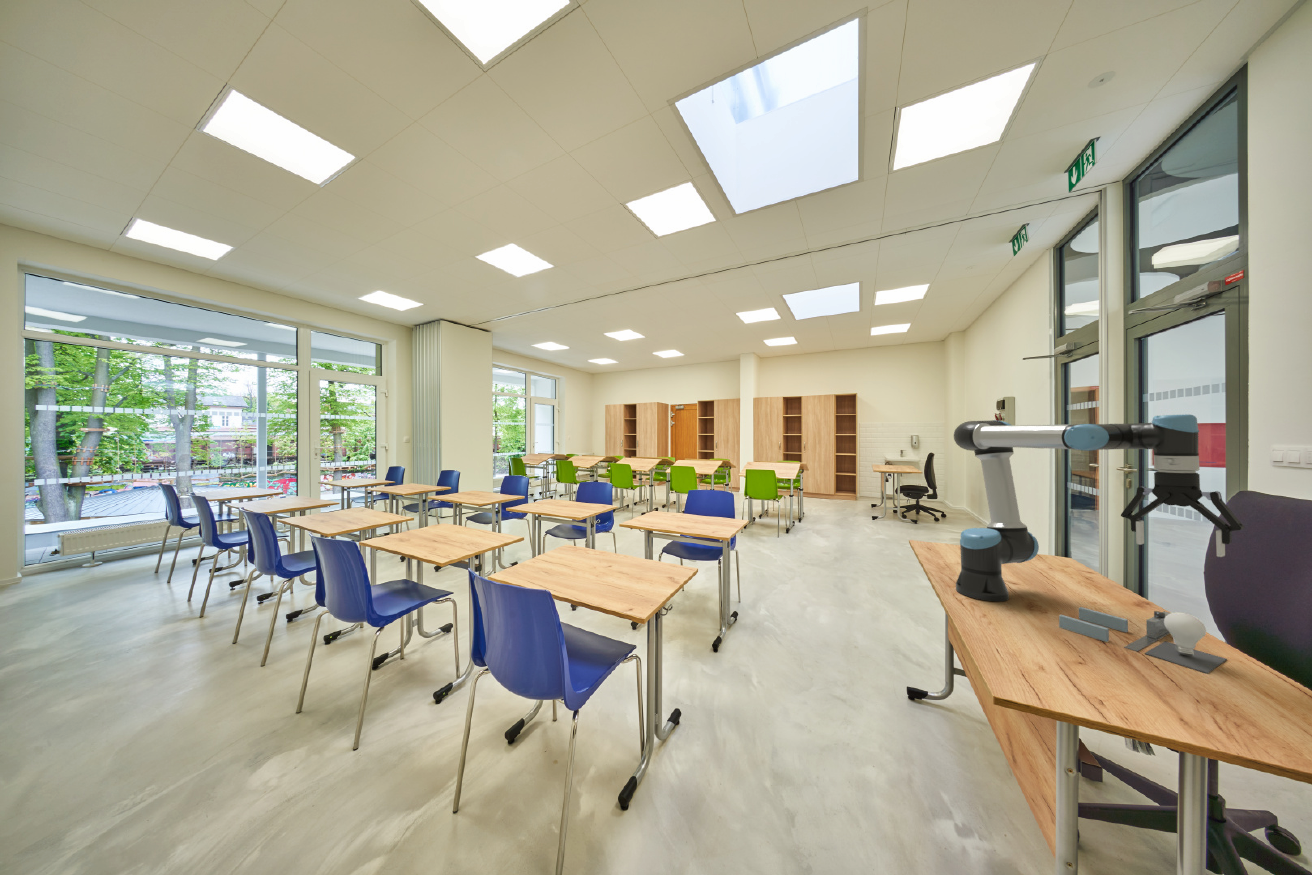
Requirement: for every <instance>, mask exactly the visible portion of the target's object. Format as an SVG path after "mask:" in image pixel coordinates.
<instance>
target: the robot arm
mask: <svg viewBox="0 0 1312 875" xmlns="http://www.w3.org/2000/svg"><path fill="white" fill-rule="evenodd" d="M1198 425H1199V424H1198V419H1197V416H1196V415H1193V414H1189V413H1188V414H1186V413H1185V414H1166V415H1165V414H1163V415H1155V416H1153V417H1152V421H1151V422H1145V423H1144V422H1143V423H1141V422H1140V423H1081V424H1077V423H1076V424H1075V423H1074V424H1027V425H1026V424H1020V425H1019V424H1018V425H1017V424H1016V425H1015V424H1014V425H1013V424H1011V423H1009V422H1007V421H1002V420H997V419H996V420H995V419H994V420H969V421H964V422H962V423H961V424H959V425H958V426H956V428H955V430H954V433H953V440H954V442H955V444H956V445H957V446H958V447H959V448H961V449H963V450H966V451H974V457H976V458H977V459H979V460H980V463H981V468H982V476H983V480H984V488H985V493H986V500H987V505H988V512H989V516H990V517H989V518H990V522H989V523H988V524H987V525H986V527H972V528H971V527H970V528H966V529H964V530H962V531H961V533H960V539H959V544H960V565H961V566H960V571H959V574H958V577H957V579H956V583H955V590H956V592H958V593H959V594H961V595H964V596H965V597H969V598H971V599H972V598H973V599H977V600H980V599H981V600H980V601H985V602H987V601H989V602H1005V601H1008V600H1009V599H1010V598H1009V593H1010V592H1009V589H1008V587H1007V586H1006V583H1005V580H1004V578H1003V574H1002V565H1004V564H1007V565H1008V564H1014V563H1015V564H1022V563H1024V562H1028V561H1031V560H1033V559H1034V558H1035V557H1036V556H1037V555H1038V554H1039V553H1038V552H1039V550H1040V549H1039V547H1040V546H1039V541H1038V540H1037V537H1035V536H1034V535H1033V534H1032V533H1031V532H1029V530H1028V526H1027V525H1026V524H1025V523H1023V522H1022V520H1021V517H1020V511H1019V510H1020V509H1019V506H1018V500H1017V494H1016V488H1015V483H1014V477H1013V471H1012V465H1011V460H1010V458H1011V456H1012V455H1014V454H1015V453H1014V448H1020V449H1021V448H1024V449H1027V448H1028V449H1055V450H1078V451H1084V452H1085V451H1089V452H1090V451H1101V450H1102V451H1103V450H1104V451H1105V450H1106V451H1107V450H1153V468H1154V470H1156V471H1155V472H1154V473H1153V474H1154V475H1153V479H1154V480H1153V482H1154V486H1153V488H1151V487H1146V486H1138V487H1137V488H1136V493H1135V495H1134V497H1133V498H1132V500H1130V502H1129V503H1128V504H1127V505H1126V507H1125V508H1124V510H1123V511H1122V512H1121V514H1120V517H1122V518H1125V519H1128V520H1129V521H1130V531H1131V532H1134V533H1135V535H1136V537H1135V538H1136V539H1135V540H1136V542H1135V544H1136V545H1140V546H1141V545H1143V544H1144V545H1145V521H1144V520H1141V519H1142V518H1144V517H1145V516H1147V515H1148V514H1149V513H1151V512H1152V511H1153V510H1155V509H1156V508H1158V507H1159V506H1161V505H1164V504H1165V505H1166V506H1178V507H1183V508H1184V507H1190V508H1192V509H1194V510H1195V511H1196V512H1198V513H1199V514H1200V515H1202V516H1203V517H1204V518H1205V519H1207V520H1208V521H1209V522H1211V523H1212V524H1213V525H1215V527H1217V528H1218V529H1217V530H1215V542H1216V543H1215V544H1216V550H1215V551H1216V557H1218V558H1219V557H1220V558H1223V557H1225V556H1226V545H1230V544H1231V543H1232V540H1233V539H1232V538H1233V537H1232V536H1233V535H1232V532H1233V531H1234V532H1235V531H1241V530H1244V529H1245V526H1244V524H1243V523H1242V522H1241V521H1240V520H1239V518H1238V517H1237V516H1236V515H1235V514H1234V512H1233V511H1232V510H1231V509H1230V508H1229V507H1228V505H1227V504H1226V503H1225V502H1224V500H1223V498H1222V493H1221V492H1220V491H1218V490H1216V491H1202V490H1201V483H1200V482H1201V481H1200V480H1201V478H1200V476H1201V475H1200V474H1199V473H1198V471H1199V470H1200V456H1199V455H1200V453H1199V433H1200V430H1199V426H1198ZM1151 493H1152V494H1153V495H1154V496H1155V497H1156V498H1155V499H1154V500H1153V501H1151V502H1150V503H1149V504H1147V505H1146V506H1145V507H1143V508H1141V509H1140V510H1139V511H1137V512H1135V510H1136V509H1137V508H1138V506H1139V505H1140V504H1141V503H1142V502H1143V501H1144V498H1146V496H1148V495H1150V494H1151ZM1203 497H1205V498H1206V499H1207V500H1208V501H1211V503H1212V504H1213V505H1214V506H1215V508H1216V509H1217V510H1218V511H1219V514H1221V516H1223V518H1224V519H1225V520H1226V521H1227V522H1225V520H1223V519H1222V518H1220V517H1219V516H1218V515H1216V514H1215V513H1214V512H1212V511H1211V510H1210V509H1209V508H1207V507H1206V506H1205V505H1204V504H1203V503H1202V502H1201V501H1199V500H1200V499H1201V498H1203ZM1134 512H1135V513H1134ZM1133 513H1134V514H1133Z"/></svg>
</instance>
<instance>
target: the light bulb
mask: <svg viewBox="0 0 1312 875" xmlns="http://www.w3.org/2000/svg"><path fill="white" fill-rule="evenodd" d="M1169 613H1170V614H1168V615H1167V616H1166V617H1165V619H1164V625H1165V627H1166V628H1167V630H1168V631H1169V632H1170V636H1171V637H1172V638H1173V643H1174V644H1176V645H1175V646H1176V647H1175V648H1176V649H1175V650H1176V651H1177V652H1178V653H1180V654H1181V655H1184V656H1193V655H1194V651H1193V649H1194V650H1195V649H1196V645H1197V643H1198V642H1199V641H1200V640H1202V639H1203V638H1204V637H1205V636H1206V633H1207V628H1206V625H1205V624H1204V623H1203V622H1202V621H1201V620H1200V619H1199V618H1197V617H1196V616H1194V615H1192V614H1190V613H1189V614H1188V613H1187V612H1179V611H1178V612H1169Z"/></svg>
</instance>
